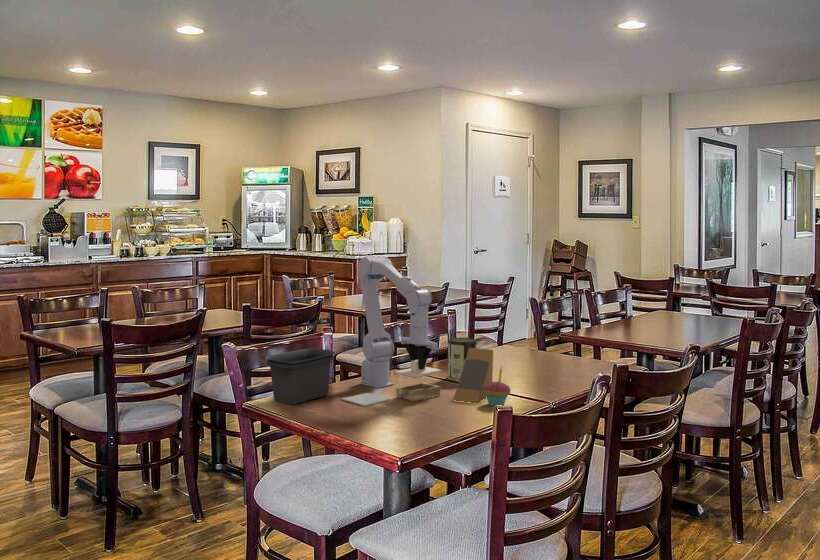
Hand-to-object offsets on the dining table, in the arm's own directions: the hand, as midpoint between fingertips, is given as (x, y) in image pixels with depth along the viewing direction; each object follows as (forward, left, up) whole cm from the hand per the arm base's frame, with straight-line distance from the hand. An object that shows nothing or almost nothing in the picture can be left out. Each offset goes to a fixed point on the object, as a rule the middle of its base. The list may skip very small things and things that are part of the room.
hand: (418, 368), depth 239 cm
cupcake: (+24, +10, -9) cm, 28 cm away
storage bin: (-25, -29, -10) cm, 39 cm away
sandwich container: (+13, +12, -10) cm, 20 cm away
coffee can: (-8, +31, -9) cm, 33 cm away
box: (0, 0, -9) cm, 9 cm away
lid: (0, 0, -1) cm, 1 cm away
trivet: (-8, -16, -9) cm, 20 cm away
